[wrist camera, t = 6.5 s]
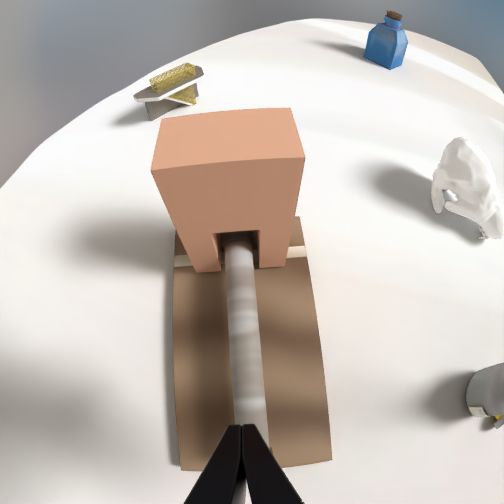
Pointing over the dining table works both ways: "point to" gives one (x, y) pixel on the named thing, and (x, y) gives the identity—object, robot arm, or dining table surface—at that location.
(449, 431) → the dining table surface
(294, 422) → the pipe rig
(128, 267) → the dining table surface
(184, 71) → the platform
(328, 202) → the dining table surface
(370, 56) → the perfume bottle
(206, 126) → the peach rectangular block
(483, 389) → the reed diffuser
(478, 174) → the white lumpy figurine
